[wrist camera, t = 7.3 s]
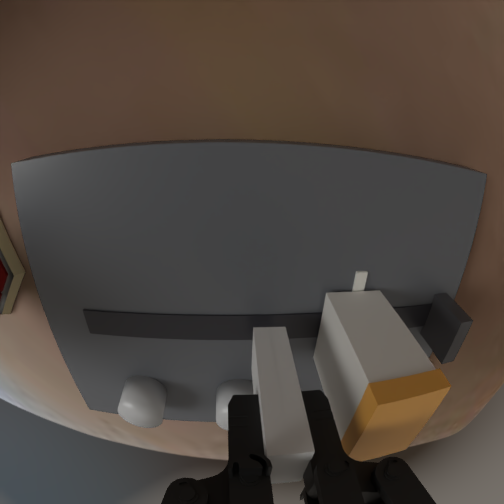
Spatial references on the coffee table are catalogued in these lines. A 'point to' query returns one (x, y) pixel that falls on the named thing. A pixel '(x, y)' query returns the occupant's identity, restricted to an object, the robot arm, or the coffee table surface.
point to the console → (233, 259)
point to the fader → (374, 375)
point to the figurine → (8, 272)
